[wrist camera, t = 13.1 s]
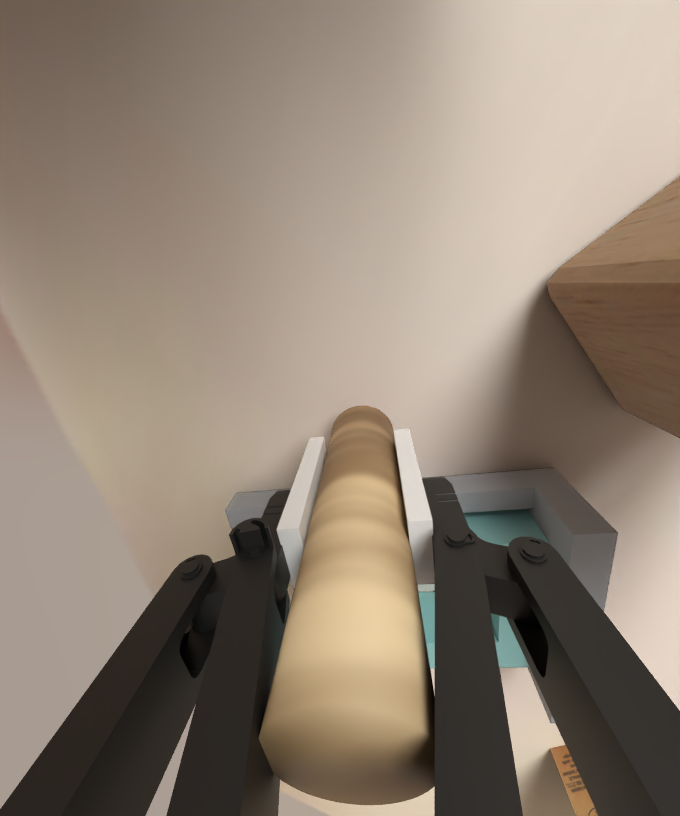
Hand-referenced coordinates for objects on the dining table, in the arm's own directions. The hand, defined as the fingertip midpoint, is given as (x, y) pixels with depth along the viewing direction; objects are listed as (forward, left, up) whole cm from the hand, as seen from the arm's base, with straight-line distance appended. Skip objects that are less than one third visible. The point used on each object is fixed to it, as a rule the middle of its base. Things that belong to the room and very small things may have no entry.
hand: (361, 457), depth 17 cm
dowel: (0, 0, -3) cm, 3 cm away
